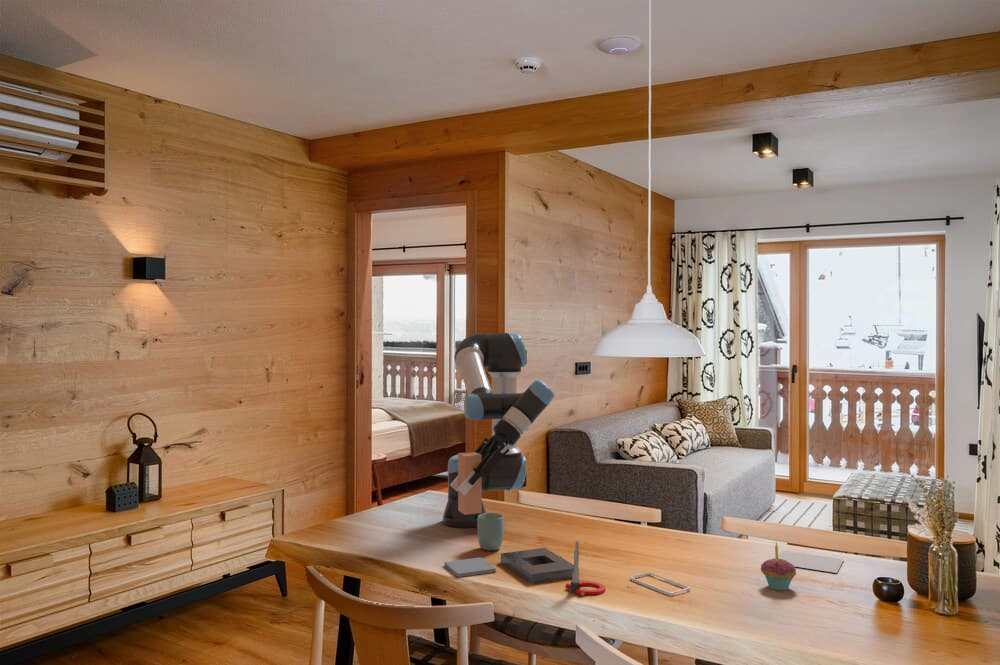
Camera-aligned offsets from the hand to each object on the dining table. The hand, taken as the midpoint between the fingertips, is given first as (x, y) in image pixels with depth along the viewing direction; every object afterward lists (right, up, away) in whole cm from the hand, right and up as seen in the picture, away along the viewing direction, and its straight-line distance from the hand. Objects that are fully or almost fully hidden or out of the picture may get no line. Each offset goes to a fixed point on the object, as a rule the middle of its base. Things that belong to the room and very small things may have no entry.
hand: (457, 490), depth 208 cm
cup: (+9, -22, +20) cm, 31 cm away
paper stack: (+105, -22, +9) cm, 108 cm away
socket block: (+22, -22, +1) cm, 31 cm away
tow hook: (+34, -22, -15) cm, 43 cm away
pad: (+3, -22, +2) cm, 22 cm away
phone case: (+53, -23, -12) cm, 59 cm away
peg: (+3, -6, +2) cm, 7 cm away
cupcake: (+83, -22, -14) cm, 87 cm away
